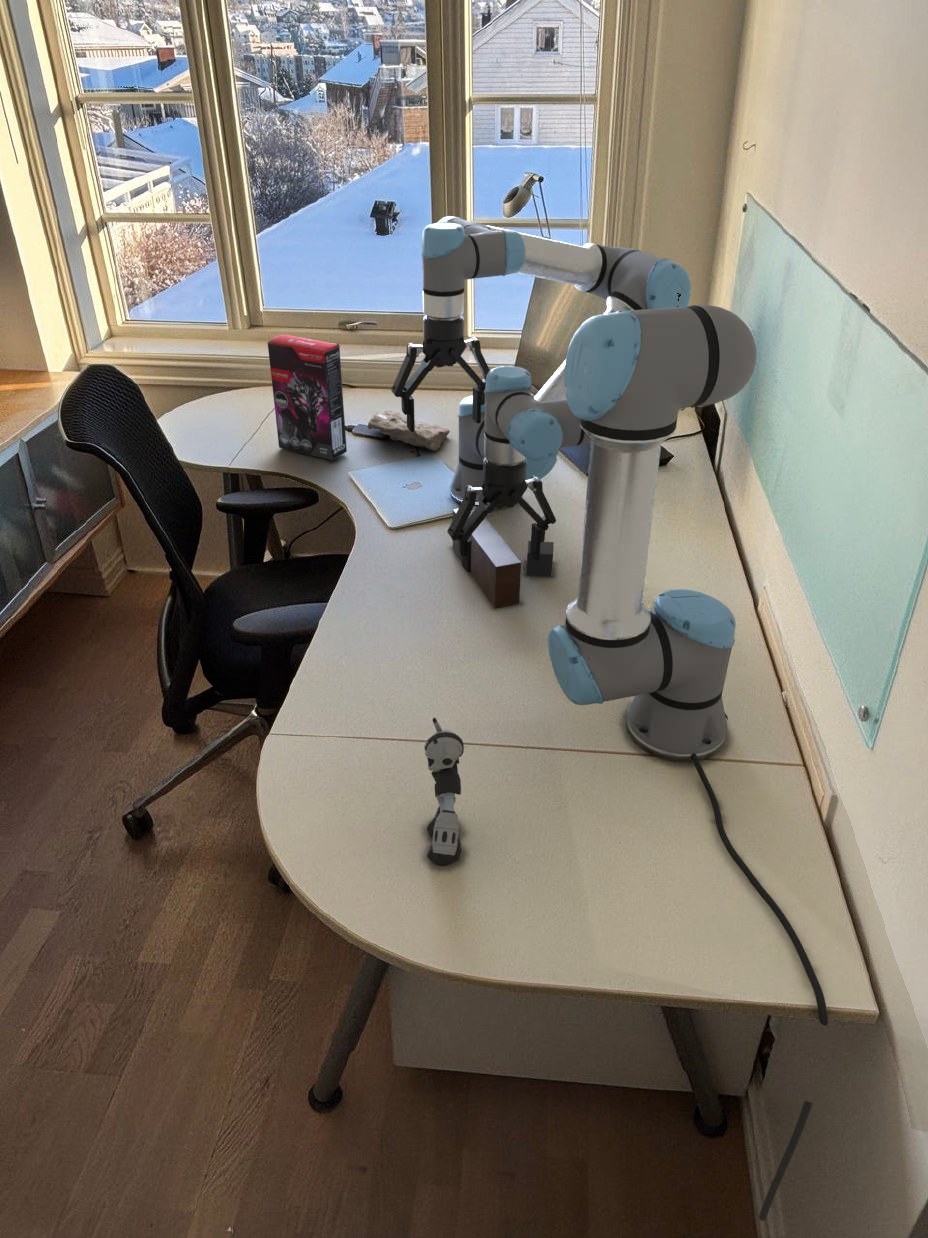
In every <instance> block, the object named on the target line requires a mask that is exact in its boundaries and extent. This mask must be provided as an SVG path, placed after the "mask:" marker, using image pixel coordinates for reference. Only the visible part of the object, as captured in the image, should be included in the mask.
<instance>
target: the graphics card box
mask: <svg viewBox="0 0 928 1238" xmlns="http://www.w3.org/2000/svg"><path fill="white" fill-rule="evenodd" d="M340 347H341V346H340V343H335V342H333V343H332V342H328V341H322V340H317V339H311V338H306V337H300V336H295V335H289V334H285V333H282V334H279V335H277V336H274V337H273V338H271V339H270V340H268V341H267V351H268V359H269V367H270V369H269V370H270V377H271V378H270V379H271V385H272V386H271V387H272V395H273V403H274V412H275V413H274V414H275V423H276V433H277V441H278V442H277V443H278V448H279V449H283V450H287V451H288V450H289V451H292V452H297V453H301V454H305V455H309V456H314V457H317V458H322V459H326V460H330V461H333V460H335V459H337V458H339V457H340V456H342V455H344V454H345V453H347V451H348V449H347V447H348V446H347V434H346V420H345V407H344V406H345V405H344V393H343V380H342V364H341V363H342V362H341V349H340Z"/></svg>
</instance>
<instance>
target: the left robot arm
mask: <svg viewBox="0 0 928 1238" xmlns="http://www.w3.org/2000/svg"><path fill="white" fill-rule="evenodd" d="M420 255H421V263H422V265H421V266H422V313H423V315H424V316H423V318H422V322H423V323H422V325H423V328H422V330H423V333H422V334H423V341H422V343H421V344H413V342H409V343H407V345H406V352H405V357H404V359H403V362H402V363H401V366H400V368H399V371H398V373H397V375H396V378H395V380H394V382H393V384H392V386H391V389H390V391H391V393H392V394H393V395H394V396H395V397H396V398H401V400H400V401H401V411H402V413H403V414H404V416H406V418H407V428H408V429H409V430H410V431H411V432H415V422H416V421H415V398H413V394H414V393H415V391H416V390H417V388H418V387H419V386H420V384H422V382H423V381H424V379H425V378H426V376H427V375H428V373H429V372H432V370H433V369H434V368H435V367H436V368H443V367H454V365H456V364H458V366H460V368H461V369H462V370H463V371H464V373H466V374H467V375H468V377H469V378H470V379H471V380H472V381H473V382H474V383H475V385H476V386H472V395H469V396H466V397H464V398H463V399H462V400H461V401H460V402H459V405H458V414H457V417H458V463H457V467H456V469H455V472H454V474H453V478H452V479H451V484H450V497H451V499H452V500H453V501H454V502H456V503H457V504H459V505H461V503H462V502H461V501H459V500H457V499H456V498H454V497H453V496H452V494H453V495H454V496H455V497H457V498H458V499H460V500H463V499H464V496H465V488H466V486H468V485H471V486H472V487H473V488H475V487H481V486H482V484H483V460H484V458H485V456H484V431H485V430H484V429H485V393H484V391H485V387H486V377H487V374H488V372H489V371H490V370H491V369H490V367H489V365H488V363H487V361H486V359H485V357H484V355H483V353H482V349H481V348H482V347H481V341H480V340H479V339H478V338H476V337H475V336H470V338H469V339H466V340H465V318H464V316H463V315H464V314H465V283H466V282H465V281H466V280H472V279H473V280H474V279H483V278H492V277H500V276H502V277H505V276H507V275H513V274H519V275H523V276H529V277H534V278H539V279H545V280H549V281H554V282H558V283H564V284H568V285H569V284H570V285H573V286H574V287H575V288H576V290H577V291H579V292H584V293H588V294H591V295H594V296H596V297H598V298H600V299H603V300H605V301H606V310H605V312H603V314H609V313H614V312H617V311H620V310H627V311H631V310H646V309H661V308H675V307H677V306H678V307H688V306H689V302H690V300H691V299H690V298H691V289H692V284H691V278H690V276H689V273H688V272H687V270H686V269H685V268H684V267H683V266H682V265H681V264H680V263H677V262H674V261H673V260H671V259H669V258H662V257H660V256H656V255H654V254H650V253H647V252H645V251H643V250H639V249H636V248H632V247H621V246H610V245H603V244H596V243H591V242H588V243H585V244H583V245H582V246H581V245H578V244H572V243H568V242H564V241H560V240H555V239H551V238H546V237H542V236H537V235H532V234H528V233H523V232H518V231H516V230H514V229H513V230H512V229H511V230H510V229H505V228H501V227H496V226H492V225H487V224H486V225H485V224H482V223H479V222H474V221H470V220H465V219H463V218H462V217H458V216H451V215H448V216H444V217H442V218H441V219H439V220H438V221H437V222H436V223H431V224H430V223H429V224H428V225H427V226H425V227H424V229H423V231H422V237H421V251H420ZM677 293H679V294H681V296H680V297H678V295H679V294H677ZM678 298H679V301H678ZM466 348H467V349H468V350H469V351H470V352H471V353H472V356H473V358H474V360H475V362H476V364H477V366H478V368H479V370H480V372H481V375H482V377H483V379H482V378H481V377H480V376H479V375H478V374H477V373H476V372H475V371H474V369H473V368H472V367H471V366H470V365H469V364H468V362H467V361H466V360H465V359H464V358H463V357H462V355H463V353H464V352H465V350H466ZM421 353H423V354H424V357H423V358H422V359H421V360H420V364H419V365H418V367H417V368H416V369H415V371H414V372H413V373H412V370H413V368H414V366H415V363H416V361H417V358H419V357H420V354H421ZM565 362H566V359H565V360H564V361H563V362H562V363H561V365H560V366H559V367H558V368H557V369H556V371H554V373H553V375H551V377H550V378H549V379H548V380H547V381H546V382H545V384H543V386H542V387H541V389H540V390H539V391H538V392H537V393H536V394H535V395H534V396H533V397H534V398H535V399H536V400H537V401H538V402H542V401H551V400H560V399H566V390H567V387H565V386H564V370H565ZM411 373H412V374H411ZM410 375H411V376H410ZM558 455H559V450H558V451H557V452H556V453H555V454H554V455H552V456H550V457H548V458H547V459H545V460H542V461H533V460H529V459H527V458H526V460H527V467H526V478H525V480H529V479H531V477H532V476H533V475H536V476H537V477H538V478H539V479H540V480H542V479H543V478H545V477H546V476H547V475H548V474H549V473H550V472H552V470H553V469H554V467H555V465H556V464H557V462H558V458H557V457H558ZM451 492H452V494H451ZM482 498H483V495H480V496H479V498H478V500H477V501H475V502H480V500H481V499H482ZM487 505H489V502H488V503H487ZM474 506H476V507H477V506H478V505H474Z"/></svg>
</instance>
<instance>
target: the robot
mask: <svg viewBox="0 0 928 1238" xmlns="http://www.w3.org/2000/svg"><path fill="white" fill-rule="evenodd" d="M432 723H433V725H434V728H435V731H436V733H434V734H432V735H431V736H430V737H429V738H428V739H426V742H425V745H424V747H423V749H424V752H425V753H424V755H425V757H426V758H427V769H428V770H429V771H430V772H431V776H432V779H433V780H434V782H435V783H434V797H435V798H436V800H437V803H438V805H439V806H438V808H437V810H436V811H435V814H434V817H433V819H432V820H431V821H430V822H429V823H428V825H427V827H426V830H427V833H428V835H429V837H430V838H432V841H431V846H430V847H429V850H428V852H427V858H428V860H430V861H431V862H432V864H434V865H437V866H441V867H442V866H448V865H450V864H453V863H455V862H457V861H459V860H460V856H461V854H462V846H461V841H460V837H459V836H460V833H461V830H460V820H459V815H458V813H456V811H455V807H454V805H455V803H456V795H457V796H459V795H462V782H461V781H462V780H461V776H460V774H459V769H458V768H459V767H458V765H459V764H460V758H462V755H463V754H464V749H465V746H464V745H465V744H464V741H463V739H462V738H461V737H460V736H459V734H457V733H455V732H453V731H451V730H443V729H442V727H441V725H440V723H439V721H438V720H437V718H436V717H433V718H432Z"/></svg>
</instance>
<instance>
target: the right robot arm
mask: <svg viewBox="0 0 928 1238" xmlns="http://www.w3.org/2000/svg"><path fill="white" fill-rule="evenodd" d="M566 352H567V353H566V357H565V360H566V362H565V370H564V386H565V387H567V390H566V399H560V400H551V401H542V402H538V401H537V400H536V399H535V398H534V397H535V396H533V395H532V389H533V386H532V374H531V373H530V372H529V370H527V369H526V368H523V367H521V366H514V365H503V366H501V365H500V366H496V367H494V368H492V369H489V370H490V371H489V372H488V374H487V377H486V387H485V391H484V393H485V429H484V430H485V431H484V456H485V458H484V460H483V484H482V486H481V487H475V488H473V487H472V486H471V485H468V486H466V488H465V496H464V499H463V501H462V503H461V504H459V507H458V508H457V509H458V511H457V513H456V515H455V517H454V519H453V518H452V521H451V523H450V524H449V526H448V529H447V534H448V535H449V537H450V538H451V540H452V541H453V540H458V552H459V554H460V555H461V556H462V561H461V566H462V568H463V570H464V571H465V572H466V574H470V573H471V544H472V541H471V540H470V539H469V537H470V536H471V535H472V533H473V532H474V531H475V530H476V529H477V527H478V526H479V525H480V524H481V522H482V521H483V520H484V519H485V518H486V517H487V516H488V515H490V514H492V513H493V511H494V510H495V509H496V510H502V509H504V508H514V507H515V505H517V504H518V505H519V506H520V507H521V509H523V510H524V511H525V512H526V513H527V514H528V516H530V518H531V519H533V521H534V522H533V523H532V522H531V531H530V541H531V545H530V555H531V556H532V557H533V558H534V560H535V561H538V560H539V557H540V543H541V542H545V540H546V531H548V530H549V528H550V526H549V525H550V524H552V525H554V524H556V522H557V519H556V516H555V514H554V511H553V510H552V507H551V506H550V504H549V501H548V498H546V495H545V493H544V488H543V487H544V486H543V482H542V479H539V478H538V477H537V476H536V475H533V476H532V477H531V479H529V480H525V478H526V467H527V460H526V458H527V459H529V460H533V461H542V460H545V459H547V458H548V457H550V456H552V455H554V454H555V453H556V452H557V451H558V452H559V449H560V448H569V447H575V446H582V445H589V457H588V470H587V483H586V497H585V508H584V520H583V521H584V523H583V535H582V545H581V559H580V571H579V572H580V573H579V584H578V596H577V597H576V598H575V599H573V600H572V601H571V602H570V603H569V604H568V605H567V607H566V611H565V620H564V621H565V623H564V624H563V625H562V624H561V625H560V624H557V625H556V626H554V627H552V629H550V631H549V632H548V637H547V646H548V654H549V658H550V663H551V667H552V670H553V673H554V676H555V678H556V681H557V683H558V685H559V687H560V689H561V691H562V692H563V694H564V696H565V697H566V698H567V700H569V701H570V702H571V703H572V704H574V705H576V706H589V705H595V704H598V705H603V704H604V703H606V702H607V703H608V702H611V701H616V700H621V699H626V698H630V697H633V699H632V701H631V702H630V704H629V706H628V708H627V711H626V719H625V728H626V732H627V734H628V736H629V738H630V739H631V741H632V742H634V744H636V745H637V746H638V747H639V748H640V749H641V750H643V751H645V752H646V753H648V754H650V755H651V756H654V757H656V758H659V759H662V760H666V761H670V762H675V763H692V764H693V765H694V768H695V770H696V772H697V774H698V777H699V778H700V781H701V783H702V785H703V788H704V789H705V791H706V793H707V796H708V798H709V801H710V803H711V807H712V811H713V816H714V821H715V825H716V830H717V833H718V835H719V838H720V840H721V842H722V844H723V845H724V847H725V849H726V850H727V853H728V854H729V855H730V857H731V858H732V860H733V861H734V863H735V864H736V865H737V866H738V868H739V869H740V871H741V872H742V873H743V875H744V876H745V877H746V879H747V880H748V881H749V883H750V884H751V885H752V887H753V888H754V890H755V891H756V892H757V893H758V894H759V896H760V897H761V898H762V899H763V900H764V902H765V903H766V904H767V905H768V907H769V908H770V910H771V911H772V912H773V913H774V915H775V916H776V917H777V919H778V921H779V922H780V924H781V926H782V927H783V929H784V930H785V932H786V934H787V935H788V937H789V939H790V940H791V943H792V944H793V946H794V948H795V951H796V952H797V954H798V957H799V959H800V961H801V964H802V966H803V969H804V971H805V973H806V976H807V978H808V980H809V983H810V985H811V987H812V990H813V994H814V997H815V1001H816V1006H817V1012H818V1013H817V1014H818V1021H819V1023H820V1025H822V1026H825V1027H826V1026H828V1025H829V1018H828V1010H827V1004H826V999H825V996H824V992H823V990H822V986H821V984H820V982H819V979H818V977H817V974H816V972H815V970H814V968H813V965H812V963H811V961H810V959H809V957H808V954H807V951H806V949H805V948H804V946H803V944H802V942H801V940H800V938H799V937H798V935H797V932H796V931H795V929H794V928H793V925H792V924H791V923H790V921H789V920H788V918H787V916H786V915H785V914H784V912H783V911H782V909H781V908H780V907H779V905H778V904H777V902H776V901H775V900H774V899H773V898H772V896H771V895H770V894H769V892H768V891H767V890H766V889H765V887H763V885H762V884H761V883H760V882H759V880H758V879H757V878H756V876H755V874H754V873H753V872H752V871H751V869H750V868H749V867H748V866H747V864H746V863H745V861H743V859H742V857H741V856H740V855H739V854H738V852H737V851H736V849H735V848H734V846H733V844H732V843H731V841H730V839H729V837H728V834H727V832H726V830H725V827H724V822H723V818H722V812H721V808H720V805H719V802H718V798H717V796H716V794H715V791H714V789H713V787H712V786H711V783H710V781H709V779H708V776H707V775H706V772H705V770H704V768H703V766H702V764H701V762H700V761H703V760H706V759H709V758H711V757H714V755H716V754H718V752H720V751H721V750H722V748H723V747H724V744H725V743H726V740H727V739H726V738H727V734H728V721H729V717H728V715H727V713H726V712H725V708H724V707H725V706H724V701H723V692H724V686H725V682H726V678H727V672H728V668H729V663H730V658H731V654H732V651H733V650H732V649H733V647H734V645H735V642H736V641H735V635H736V617H735V616H734V614H733V612H732V611H731V609H730V608H729V607H728V606H727V605H726V604H725V603H723V602H722V601H720V600H719V599H717V598H715V597H713V596H711V595H709V594H706V593H703V592H701V591H697V590H692V589H683V588H675V589H674V588H673V589H667V590H665V591H663V592H661V593H660V594H659V595H658V596H657V597H656V599H655V600H654V602H653V609H650V610H649V609H648V608H647V607H646V606H645V605H644V604H643V603H642V602H643V596H644V588H645V587H644V586H645V580H646V572H647V563H648V555H649V548H650V538H651V533H652V532H651V531H652V522H653V514H654V506H655V499H656V490H657V482H658V474H659V465H660V457H661V451H662V450H661V449H662V443H664V442H665V441H666V440H668V439H669V438H670V437H672V436H673V435H674V434H675V432H676V431H677V424H678V417H679V411H681V410H684V409H688V408H695V407H697V408H698V407H699V408H704V407H709V406H713V405H715V404H718V403H720V402H724V401H726V400H729V399H731V398H732V397H734V396H736V395H737V394H739V393H740V392H741V391H742V390H743V389H744V388H745V386H747V384H748V383H749V382H750V380H751V378H752V376H753V374H754V371H755V368H756V364H757V356H758V355H757V345H756V341H755V337H754V336H753V334H752V332H751V330H750V328H749V326H748V324H746V323H745V322H744V320H743V319H741V318H740V317H739V316H738V315H737V314H736V313H734V312H732V311H731V310H729V309H725V308H723V307H721V306H717V305H709V304H695V305H688V306H687V307H675V308H661V309H646V310H631V311H627V310H620V311H617V312H614V313H609V314H604V313H603V314H597V315H593V316H591V317H589V318H587V319H586V320H584V322H582V324H581V325H580V326H579V327H578V328H577V330H576V331H575V332H574V334H573V337H571V340H570V343H569V345H568V349H567V351H566ZM528 489H529V490H530V491H531V492H532V493H533V496H534V497H535V499H536V501H537V503H538V505H539V507H540V510H541V511H542V513H543V516H541V515H539V513H538V512H537V511H536V510H535V509H534V508H533V507H532V506H531V505H530V504H529V503H528V502H527V501H526V499H525V498H524V497H523V496H524V494H525V493H526V491H527V490H528ZM480 495H483V498H482V499H481V500H480V502H479V505H478V506H477V508H476V509H475V510H474V511H473V513H472V514H471V515H470V513H471V511H472V509H473V507H474V505H475V501H477V500H478V498H479V496H480ZM488 502H489V505H487V503H488ZM469 515H470V516H469ZM468 517H469V518H468ZM812 1106H813V1102H811V1101H806V1100H803V1103H802V1107H801V1111H800V1113H799V1116H798V1119H797V1121H796V1125H795V1127H794V1129H793V1132H792V1135H791V1137H790V1139H789V1142H788V1144H787V1147H786V1149H785V1150H784V1151H785V1152H784V1154H783V1156H782V1158H781V1160H780V1162H779V1165H778V1167H777V1169H776V1172H775V1174H774V1176H773V1179H772V1181H771V1184H770V1186H769V1189H768V1191H767V1193H766V1195H765V1196H766V1197H765V1199H764V1201H763V1204H762V1206H761V1209H760V1212H759V1215H758V1219H759V1220H760V1221H761V1222H765V1221H766V1220H767V1217H768V1214H769V1212H770V1209H771V1206H772V1204H773V1202H774V1199H775V1197H776V1194H777V1193H778V1190H779V1187H780V1185H781V1183H782V1181H783V1179H784V1176H785V1174H786V1172H787V1169H788V1167H789V1164H790V1162H791V1160H792V1158H793V1156H794V1153H795V1151H796V1149H797V1147H798V1144H799V1142H800V1139H801V1137H802V1135H803V1131H804V1129H805V1127H806V1124H807V1121H808V1118H809V1116H810V1112H811V1110H812V1108H813V1107H812Z"/></svg>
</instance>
